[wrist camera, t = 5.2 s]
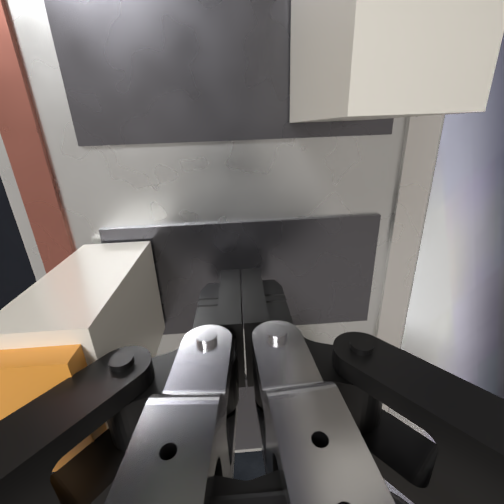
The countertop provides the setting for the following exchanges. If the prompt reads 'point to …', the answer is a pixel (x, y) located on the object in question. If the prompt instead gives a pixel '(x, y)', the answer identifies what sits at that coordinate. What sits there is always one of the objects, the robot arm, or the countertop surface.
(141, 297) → the block
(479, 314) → the countertop surface
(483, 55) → the block
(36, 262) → the panel
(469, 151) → the countertop surface
